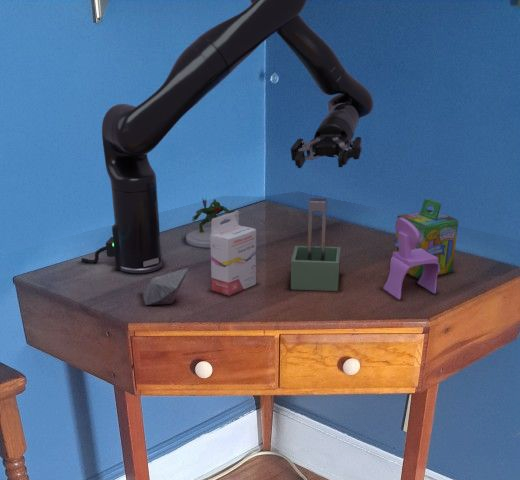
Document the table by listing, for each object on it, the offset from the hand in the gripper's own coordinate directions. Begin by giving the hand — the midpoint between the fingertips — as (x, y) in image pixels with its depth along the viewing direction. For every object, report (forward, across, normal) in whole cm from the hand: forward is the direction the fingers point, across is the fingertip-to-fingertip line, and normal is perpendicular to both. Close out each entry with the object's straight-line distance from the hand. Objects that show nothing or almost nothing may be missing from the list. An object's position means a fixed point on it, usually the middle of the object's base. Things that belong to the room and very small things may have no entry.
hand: (319, 163), depth 163 cm
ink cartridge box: (+20, -15, +18) cm, 30 cm away
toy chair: (+12, +19, +22) cm, 32 cm away
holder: (+12, 0, +20) cm, 24 cm away
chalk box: (0, +20, +24) cm, 32 cm away
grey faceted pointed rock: (+29, -25, +15) cm, 42 cm away
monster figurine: (-8, -30, +22) cm, 38 cm away
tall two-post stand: (+12, 0, +20) cm, 24 cm away
